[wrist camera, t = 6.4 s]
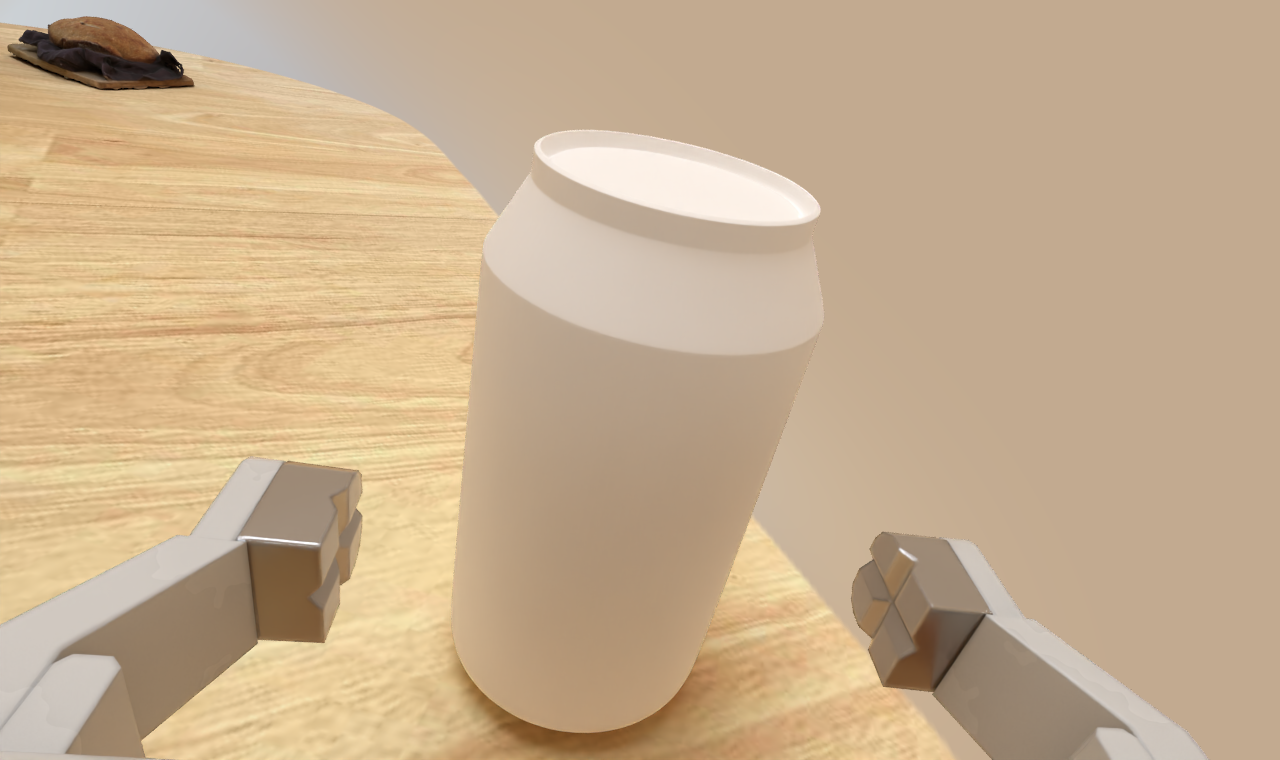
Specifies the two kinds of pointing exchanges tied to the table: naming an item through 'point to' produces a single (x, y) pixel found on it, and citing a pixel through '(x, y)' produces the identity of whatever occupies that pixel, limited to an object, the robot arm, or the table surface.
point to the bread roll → (100, 55)
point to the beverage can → (622, 416)
